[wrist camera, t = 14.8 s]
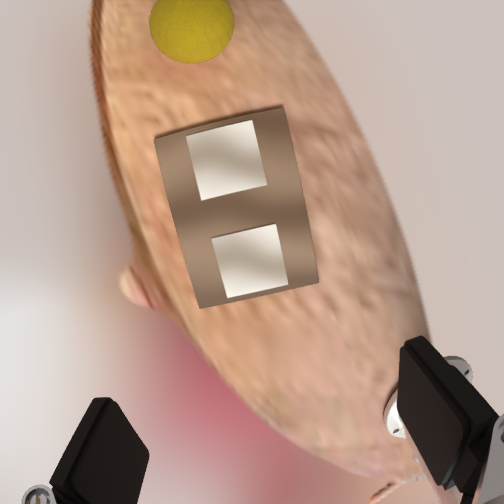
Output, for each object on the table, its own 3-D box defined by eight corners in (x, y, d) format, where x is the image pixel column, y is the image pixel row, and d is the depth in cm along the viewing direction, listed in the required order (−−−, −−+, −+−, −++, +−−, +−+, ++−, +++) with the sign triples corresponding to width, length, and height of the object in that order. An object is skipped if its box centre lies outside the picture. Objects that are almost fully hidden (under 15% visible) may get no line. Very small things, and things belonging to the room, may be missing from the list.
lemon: (188, 10, 19) (167, -43, 11) (248, 32, 19) (250, -21, 12) (153, 62, 20) (116, 23, 12) (213, 86, 21) (199, 49, 13)
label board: (318, 281, 25) (319, 282, 24) (200, 307, 25) (199, 309, 25) (283, 108, 21) (283, 107, 21) (154, 140, 22) (153, 139, 21)
